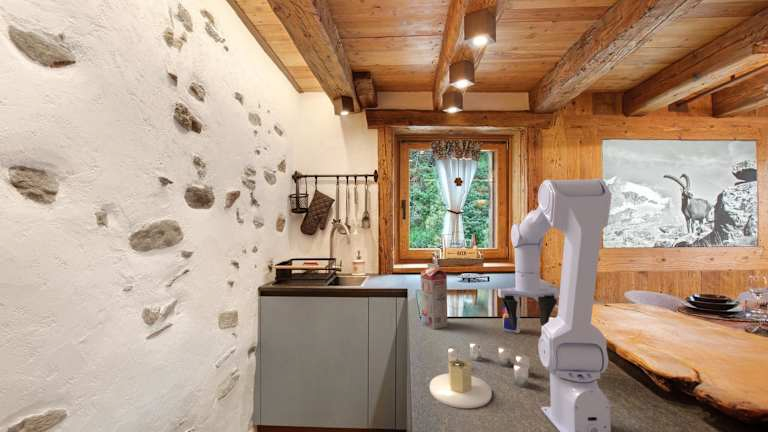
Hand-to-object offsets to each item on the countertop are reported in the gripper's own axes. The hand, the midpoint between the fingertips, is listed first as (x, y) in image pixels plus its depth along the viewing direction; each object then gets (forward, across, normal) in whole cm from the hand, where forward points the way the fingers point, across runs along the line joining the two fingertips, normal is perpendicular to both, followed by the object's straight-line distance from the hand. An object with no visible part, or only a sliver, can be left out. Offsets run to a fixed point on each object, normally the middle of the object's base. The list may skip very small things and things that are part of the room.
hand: (528, 325), depth 79 cm
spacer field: (+10, +11, +1) cm, 15 cm away
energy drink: (+11, -6, -27) cm, 30 cm away
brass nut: (+10, +20, +11) cm, 25 cm away
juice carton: (+11, +19, -34) cm, 40 cm away
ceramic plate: (+10, +20, +11) cm, 25 cm away
